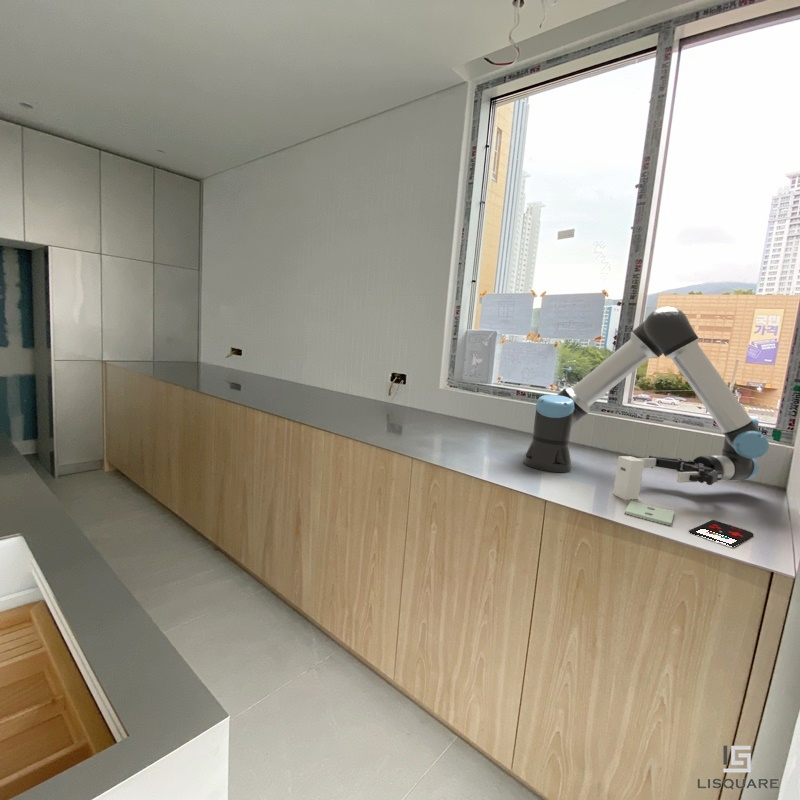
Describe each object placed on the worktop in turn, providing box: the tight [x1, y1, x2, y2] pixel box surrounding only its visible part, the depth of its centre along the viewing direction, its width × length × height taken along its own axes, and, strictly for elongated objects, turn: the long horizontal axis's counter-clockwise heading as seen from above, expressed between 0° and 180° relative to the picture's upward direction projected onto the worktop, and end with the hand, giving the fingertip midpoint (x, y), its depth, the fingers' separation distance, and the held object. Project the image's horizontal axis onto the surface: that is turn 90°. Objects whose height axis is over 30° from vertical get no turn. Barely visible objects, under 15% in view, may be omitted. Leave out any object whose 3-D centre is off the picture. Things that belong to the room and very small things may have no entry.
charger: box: [612, 455, 644, 501], centre depth 124 cm, size 4×5×11 cm
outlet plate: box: [624, 500, 675, 527], centre depth 113 cm, size 10×10×1 cm
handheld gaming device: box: [688, 519, 755, 547], centre depth 104 cm, size 9×1×15 cm
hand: (657, 469), depth 127 cm, fingers open, 13 cm apart
